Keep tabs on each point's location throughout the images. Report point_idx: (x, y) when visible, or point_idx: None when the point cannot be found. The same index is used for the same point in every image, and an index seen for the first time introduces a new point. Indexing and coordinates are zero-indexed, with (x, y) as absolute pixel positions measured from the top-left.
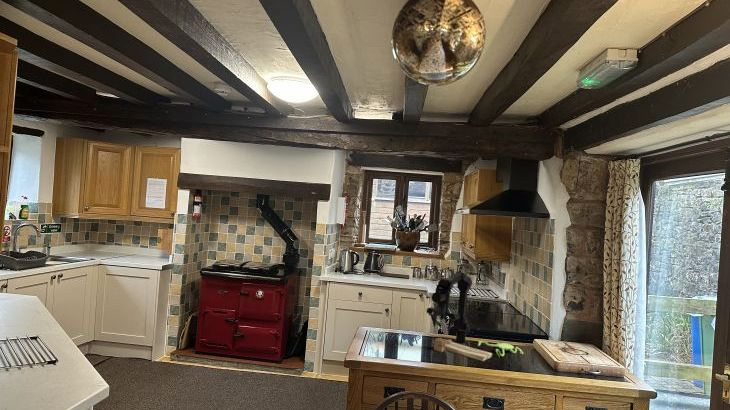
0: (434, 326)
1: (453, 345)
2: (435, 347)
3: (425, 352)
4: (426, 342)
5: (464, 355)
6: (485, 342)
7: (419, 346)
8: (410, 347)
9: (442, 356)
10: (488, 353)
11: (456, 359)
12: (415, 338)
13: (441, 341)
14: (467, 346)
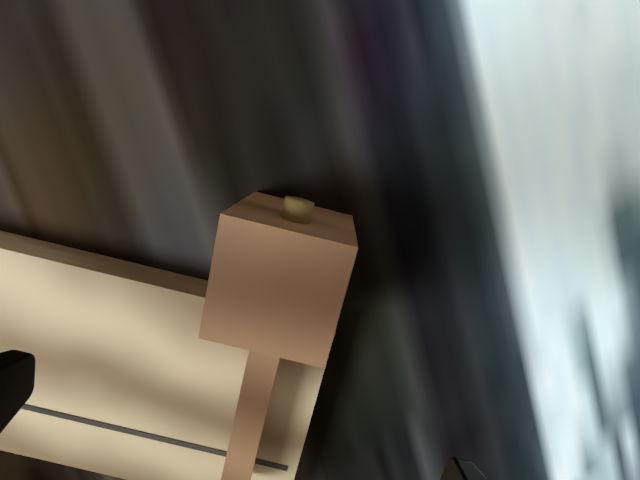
0: (447, 462)
1: (181, 402)
2: (334, 217)
3: (409, 35)
4: (486, 413)
5: (22, 236)
6: None
7: (527, 225)
8: (623, 106)
9: (193, 27)
10: None
11: (30, 34)
12: (621, 469)
13: (239, 215)
14: (58, 459)
